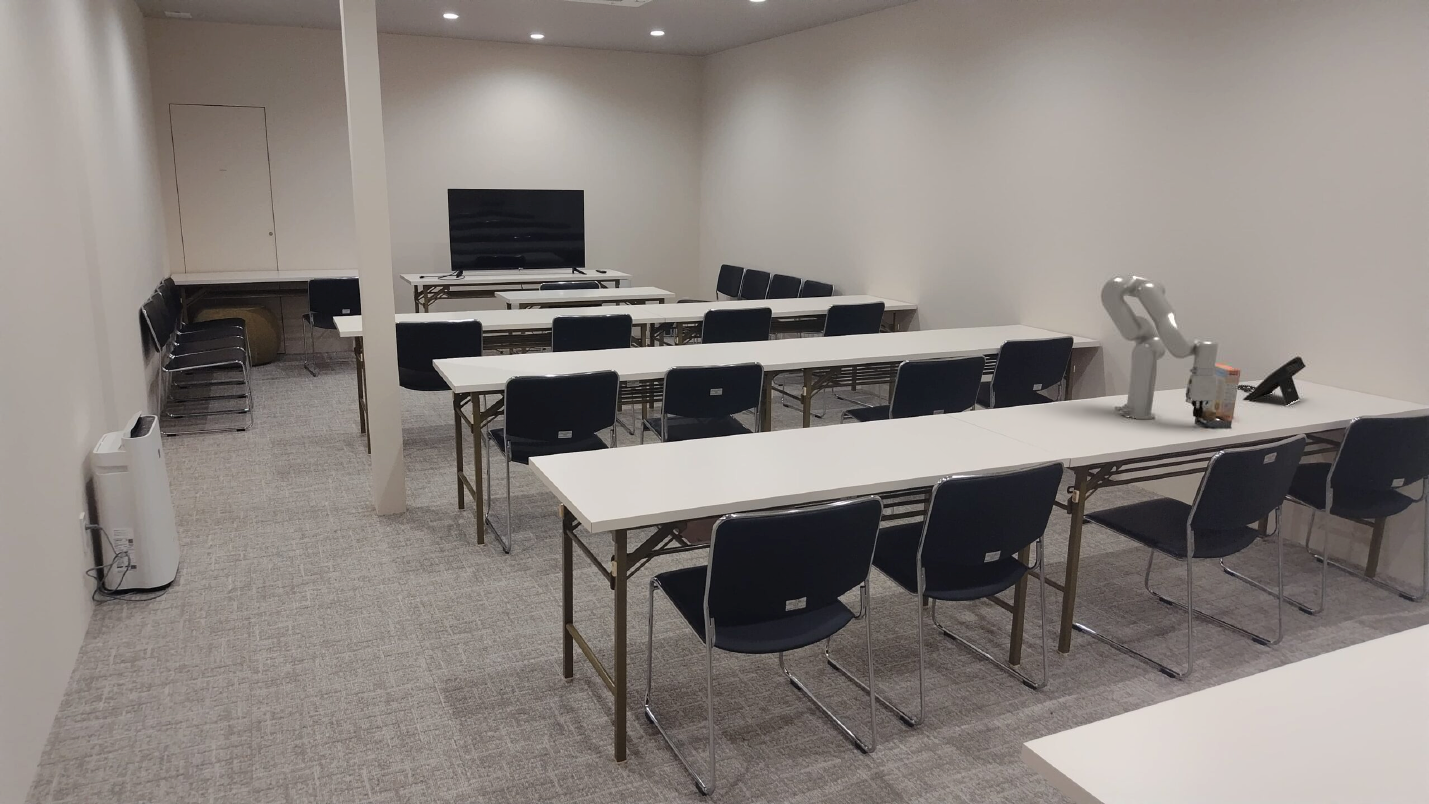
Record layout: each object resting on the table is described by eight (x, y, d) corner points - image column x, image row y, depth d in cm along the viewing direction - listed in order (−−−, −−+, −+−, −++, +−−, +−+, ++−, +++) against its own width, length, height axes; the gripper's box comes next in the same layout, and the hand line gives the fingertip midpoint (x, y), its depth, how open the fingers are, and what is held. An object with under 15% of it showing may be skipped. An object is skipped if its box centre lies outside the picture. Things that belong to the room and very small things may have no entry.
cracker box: (1233, 419, 367) (1241, 369, 362) (1218, 419, 367) (1226, 369, 362) (1215, 411, 380) (1223, 362, 375) (1201, 410, 380) (1208, 362, 375)
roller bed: (1207, 428, 352) (1208, 416, 351) (1194, 423, 360) (1196, 411, 359) (1230, 428, 353) (1232, 415, 352) (1217, 422, 361) (1219, 410, 360)
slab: (1205, 419, 353) (1206, 412, 353) (1198, 416, 358) (1199, 409, 357) (1215, 419, 354) (1216, 412, 353) (1207, 416, 358) (1208, 409, 357)
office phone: (1240, 387, 428) (1247, 345, 423) (1307, 398, 407) (1315, 354, 402) (1215, 395, 410) (1222, 352, 405) (1284, 408, 389) (1292, 362, 384)
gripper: (1190, 373, 346) (1184, 419, 351) (1227, 373, 348) (1220, 419, 352) (1179, 370, 354) (1173, 415, 358) (1215, 369, 355) (1209, 414, 359)
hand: (1197, 416), depth 355 cm, fingers closed
